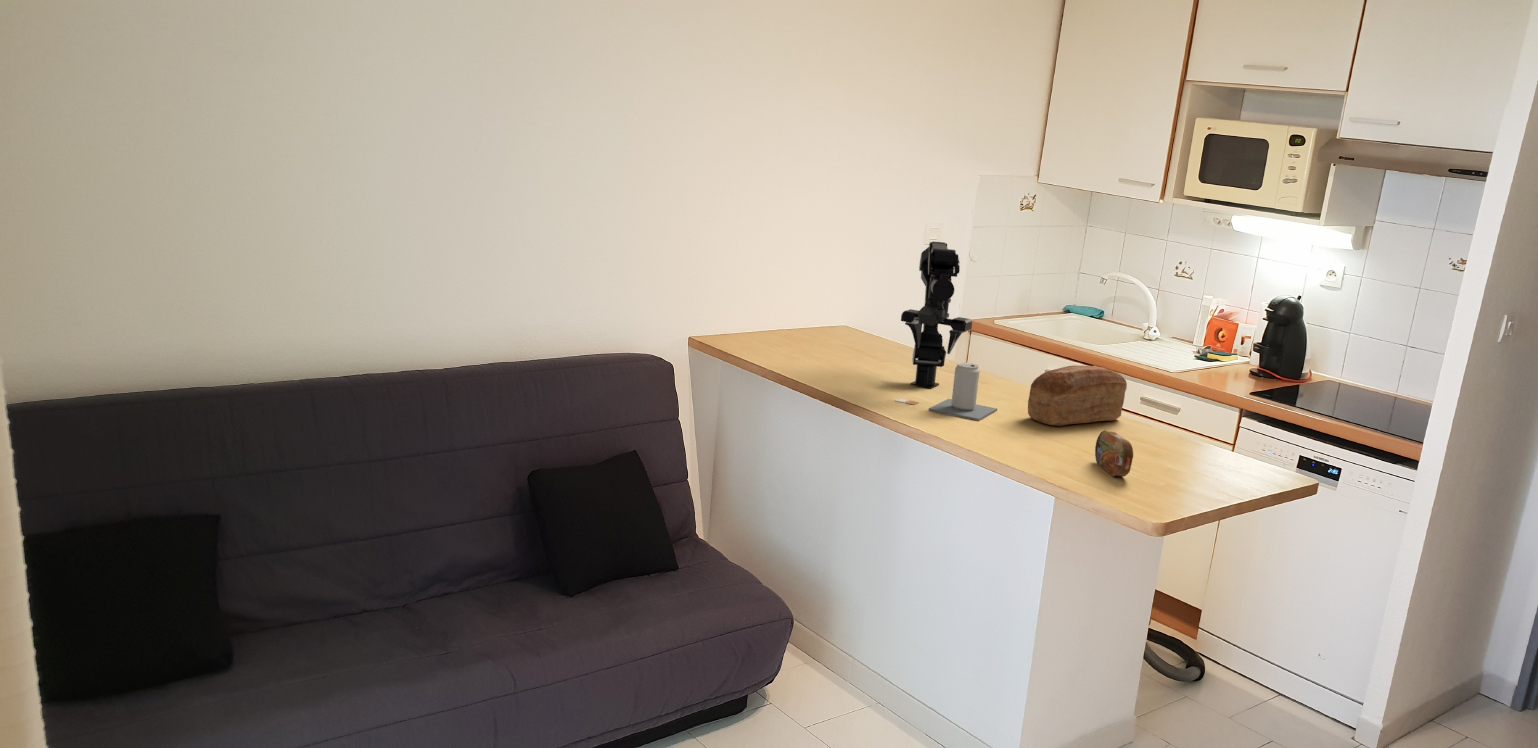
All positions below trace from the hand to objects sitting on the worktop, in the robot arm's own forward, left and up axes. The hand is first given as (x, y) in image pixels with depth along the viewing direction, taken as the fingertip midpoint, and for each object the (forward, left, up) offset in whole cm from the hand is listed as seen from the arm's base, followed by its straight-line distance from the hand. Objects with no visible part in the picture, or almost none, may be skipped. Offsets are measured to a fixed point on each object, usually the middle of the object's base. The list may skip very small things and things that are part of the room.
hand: (933, 351), depth 293 cm
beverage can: (+7, +13, -13) cm, 19 cm away
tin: (+32, +58, -13) cm, 68 cm away
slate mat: (+7, +13, -13) cm, 20 cm away
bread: (-7, +39, -13) cm, 42 cm away
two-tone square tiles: (+10, -2, -13) cm, 17 cm away
